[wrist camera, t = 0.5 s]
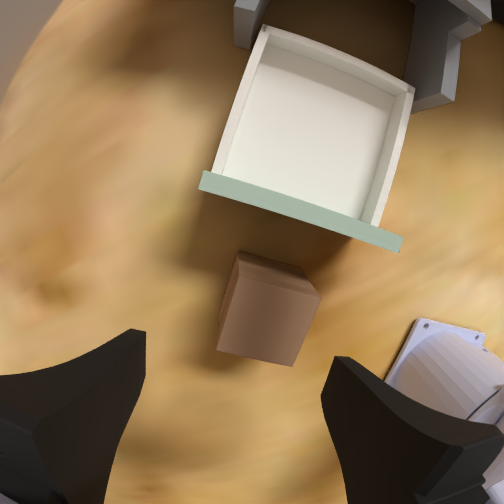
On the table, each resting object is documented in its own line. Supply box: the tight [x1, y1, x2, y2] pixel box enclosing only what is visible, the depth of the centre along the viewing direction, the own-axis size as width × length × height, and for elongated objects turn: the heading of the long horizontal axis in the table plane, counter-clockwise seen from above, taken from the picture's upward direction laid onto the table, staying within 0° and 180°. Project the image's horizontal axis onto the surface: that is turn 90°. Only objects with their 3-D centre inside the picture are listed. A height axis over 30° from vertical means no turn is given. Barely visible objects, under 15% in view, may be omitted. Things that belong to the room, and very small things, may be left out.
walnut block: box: [216, 250, 321, 367], centre depth 17 cm, size 4×4×5 cm
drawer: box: [198, 24, 415, 253], centre depth 14 cm, size 9×9×5 cm
